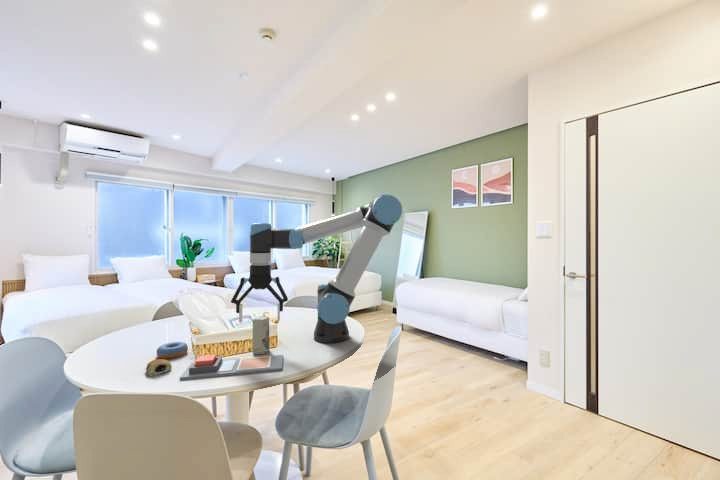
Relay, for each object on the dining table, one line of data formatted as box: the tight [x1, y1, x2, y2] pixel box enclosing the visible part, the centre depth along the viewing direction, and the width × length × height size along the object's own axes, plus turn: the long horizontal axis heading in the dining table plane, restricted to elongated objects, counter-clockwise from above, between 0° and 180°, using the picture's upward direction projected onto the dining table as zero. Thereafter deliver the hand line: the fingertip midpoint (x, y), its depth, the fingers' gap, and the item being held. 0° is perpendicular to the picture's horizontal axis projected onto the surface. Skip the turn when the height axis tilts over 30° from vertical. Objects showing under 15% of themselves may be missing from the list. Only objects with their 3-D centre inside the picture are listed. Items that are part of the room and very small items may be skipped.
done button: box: [195, 354, 217, 366], centre depth 102 cm, size 5×5×2 cm
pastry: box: [145, 358, 173, 376], centre depth 103 cm, size 9×7×4 cm
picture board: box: [179, 354, 284, 381], centre depth 104 cm, size 30×12×3 cm, turn 103°
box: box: [252, 316, 270, 355], centre depth 118 cm, size 5×4×13 cm
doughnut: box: [156, 341, 189, 360], centre depth 116 cm, size 10×10×5 cm
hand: (259, 321), depth 118 cm, fingers open, 13 cm apart
